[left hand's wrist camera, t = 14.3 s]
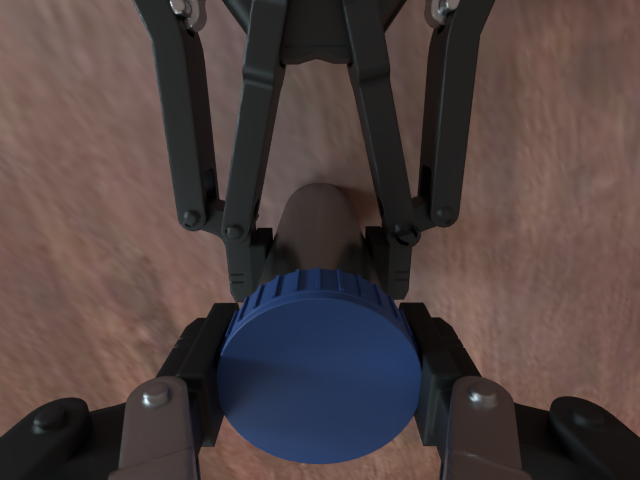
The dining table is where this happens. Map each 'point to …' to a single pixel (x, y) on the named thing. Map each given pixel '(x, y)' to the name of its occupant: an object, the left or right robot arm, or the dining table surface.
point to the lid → (319, 368)
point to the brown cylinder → (319, 236)
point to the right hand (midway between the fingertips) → (320, 348)
